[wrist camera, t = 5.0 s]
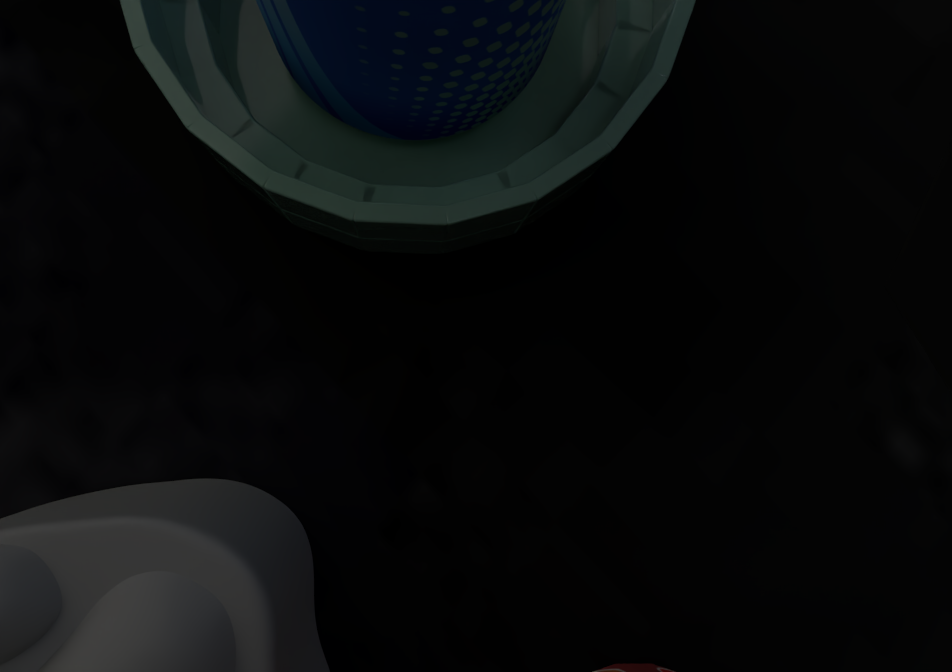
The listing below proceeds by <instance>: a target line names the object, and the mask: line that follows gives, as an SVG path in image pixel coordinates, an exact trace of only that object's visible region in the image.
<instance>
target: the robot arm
mask: <svg viewBox="0 0 952 672" xmlns="http://www.w3.org/2000/svg"><path fill="white" fill-rule="evenodd" d="M884 287H885V288H886V290H887V292H888V293H889V295H890V296H891V298H892V300H893V301H894V303H895V304H896V306H897V308H898V309H899V311H900V312H901V314H902V315H903V317H904V319H905V320H906V322H907V323H908V325H909V327H910V328H911V330H912V331H913V333H914V335H915V336H916V338H917V339H918V341H919V343H920V344H921V346H922V347H923V349H924V350H925V352H926V354H927V355H928V357H929V358H930V360H931V362H932V363H933V365H934V366H935V368H936V370H937V371H938V373H939V374H940V376H941V378H942V379H943V381H944V382H945V384H946V385H947V387H948V389H949V390H950V392H951V393H952V140H951V142H950V144H949V146H948V148H947V151H946V153H945V155H944V157H943V159H942V162H941V164H940V166H939V168H938V170H937V172H936V175H935V177H934V179H933V181H932V183H931V186H930V188H929V190H928V192H927V194H926V196H925V199H924V201H923V203H922V205H921V207H920V210H919V212H918V214H917V216H916V218H915V220H914V223H913V225H912V227H911V229H910V231H909V234H908V236H907V238H906V240H905V242H904V244H903V247H902V249H901V251H900V253H899V255H898V258H897V260H896V262H895V264H894V266H893V268H892V271H891V273H890V275H889V277H888V279H887V281H886V284H885V286H884Z"/></svg>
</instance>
